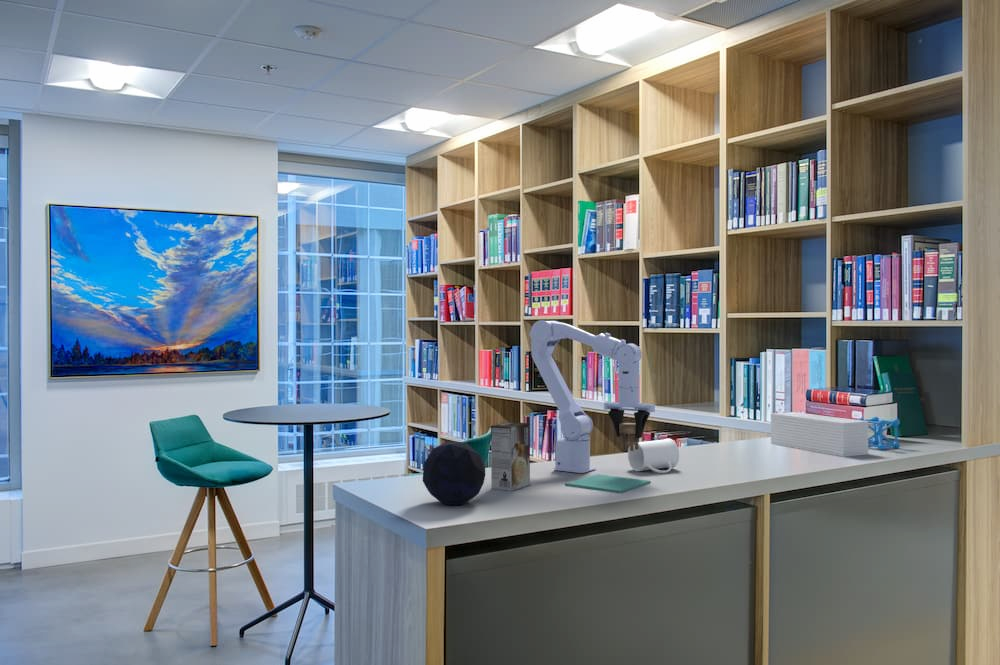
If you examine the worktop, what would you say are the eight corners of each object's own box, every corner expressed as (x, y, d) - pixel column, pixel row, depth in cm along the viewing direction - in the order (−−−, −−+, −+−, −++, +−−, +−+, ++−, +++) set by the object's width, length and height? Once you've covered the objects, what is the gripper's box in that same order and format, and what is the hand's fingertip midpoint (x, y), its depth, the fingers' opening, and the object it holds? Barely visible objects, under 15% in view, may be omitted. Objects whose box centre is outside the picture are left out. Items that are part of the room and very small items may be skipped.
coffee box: (509, 482, 206) (509, 421, 206) (530, 485, 203) (530, 422, 203) (490, 488, 198) (490, 425, 198) (512, 491, 195) (512, 426, 195)
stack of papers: (770, 444, 276) (770, 413, 276) (794, 442, 280) (794, 412, 280) (843, 457, 247) (843, 422, 247) (868, 455, 251) (868, 421, 251)
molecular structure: (882, 451, 258) (882, 420, 258) (855, 447, 267) (855, 417, 267) (901, 448, 263) (901, 418, 263) (874, 444, 272) (874, 415, 272)
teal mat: (565, 485, 202) (565, 483, 202) (597, 476, 215) (597, 474, 215) (620, 492, 193) (620, 490, 193) (650, 482, 205) (650, 480, 205)
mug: (689, 460, 220) (654, 465, 215) (678, 482, 225) (644, 487, 219) (667, 432, 228) (633, 435, 223) (657, 453, 233) (623, 457, 228)
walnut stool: (615, 449, 216) (615, 424, 216) (624, 447, 220) (624, 422, 220) (633, 451, 213) (633, 425, 213) (642, 449, 217) (642, 423, 217)
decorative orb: (401, 478, 184) (425, 430, 177) (449, 470, 194) (474, 425, 188) (432, 524, 176) (459, 475, 169) (481, 512, 186) (508, 467, 180)
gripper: (659, 387, 216) (659, 437, 216) (612, 385, 224) (612, 433, 224) (648, 389, 210) (648, 440, 210) (600, 387, 218) (600, 436, 218)
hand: (629, 437), depth 217 cm, fingers closed on walnut stool, 5 cm apart
